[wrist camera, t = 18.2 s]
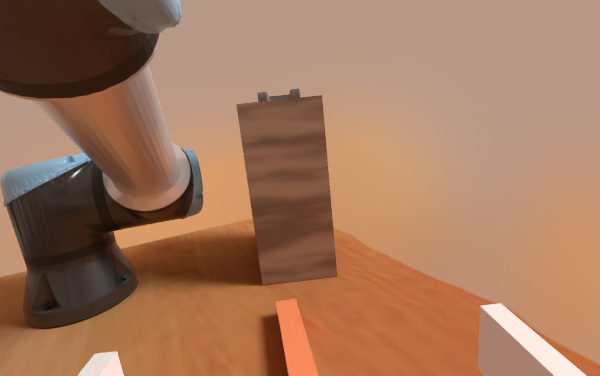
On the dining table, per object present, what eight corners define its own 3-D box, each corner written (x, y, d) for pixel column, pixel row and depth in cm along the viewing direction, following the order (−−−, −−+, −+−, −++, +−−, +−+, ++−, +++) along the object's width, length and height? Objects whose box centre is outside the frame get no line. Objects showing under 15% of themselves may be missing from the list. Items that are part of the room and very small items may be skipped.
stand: (337, 276, 48) (320, 80, 42) (262, 285, 48) (234, 89, 41) (322, 235, 66) (309, 93, 59) (268, 241, 65) (249, 99, 59)
